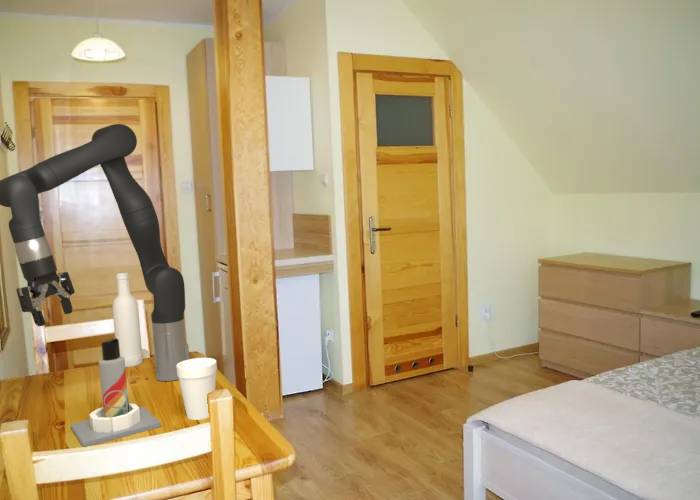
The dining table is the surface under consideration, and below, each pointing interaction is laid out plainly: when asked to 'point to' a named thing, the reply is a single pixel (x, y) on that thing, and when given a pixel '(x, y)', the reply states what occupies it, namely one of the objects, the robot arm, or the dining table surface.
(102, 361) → the lotion bottle
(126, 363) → the bottle
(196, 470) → the dining table surface
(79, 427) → the socket
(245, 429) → the dining table surface
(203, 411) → the foam cup
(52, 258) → the robot arm
